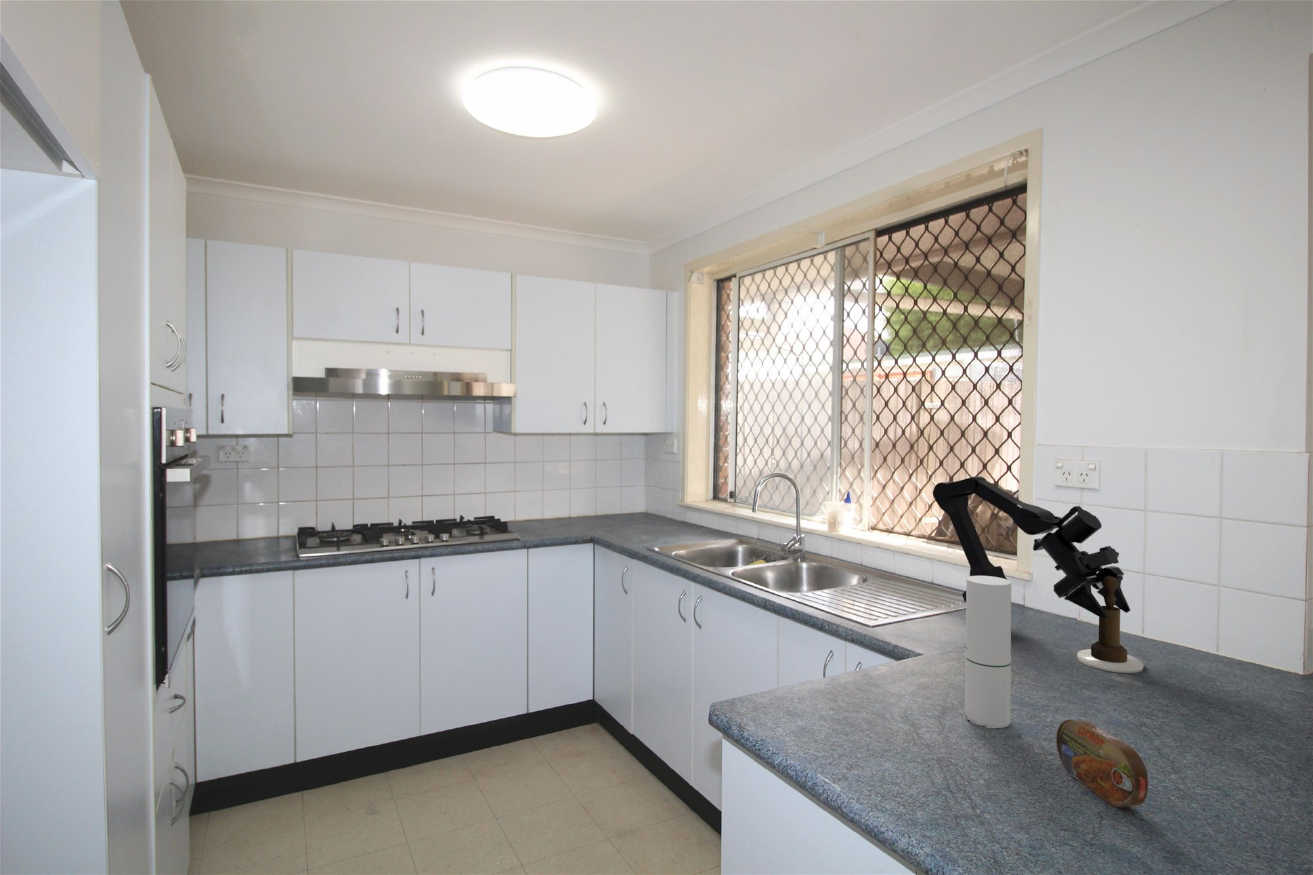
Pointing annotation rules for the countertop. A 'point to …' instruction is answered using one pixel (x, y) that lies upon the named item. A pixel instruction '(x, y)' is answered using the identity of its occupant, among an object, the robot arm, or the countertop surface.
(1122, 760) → the tin
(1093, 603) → the robot arm
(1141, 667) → the cream plate
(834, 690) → the countertop surface
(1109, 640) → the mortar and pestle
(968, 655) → the cylindrical container
